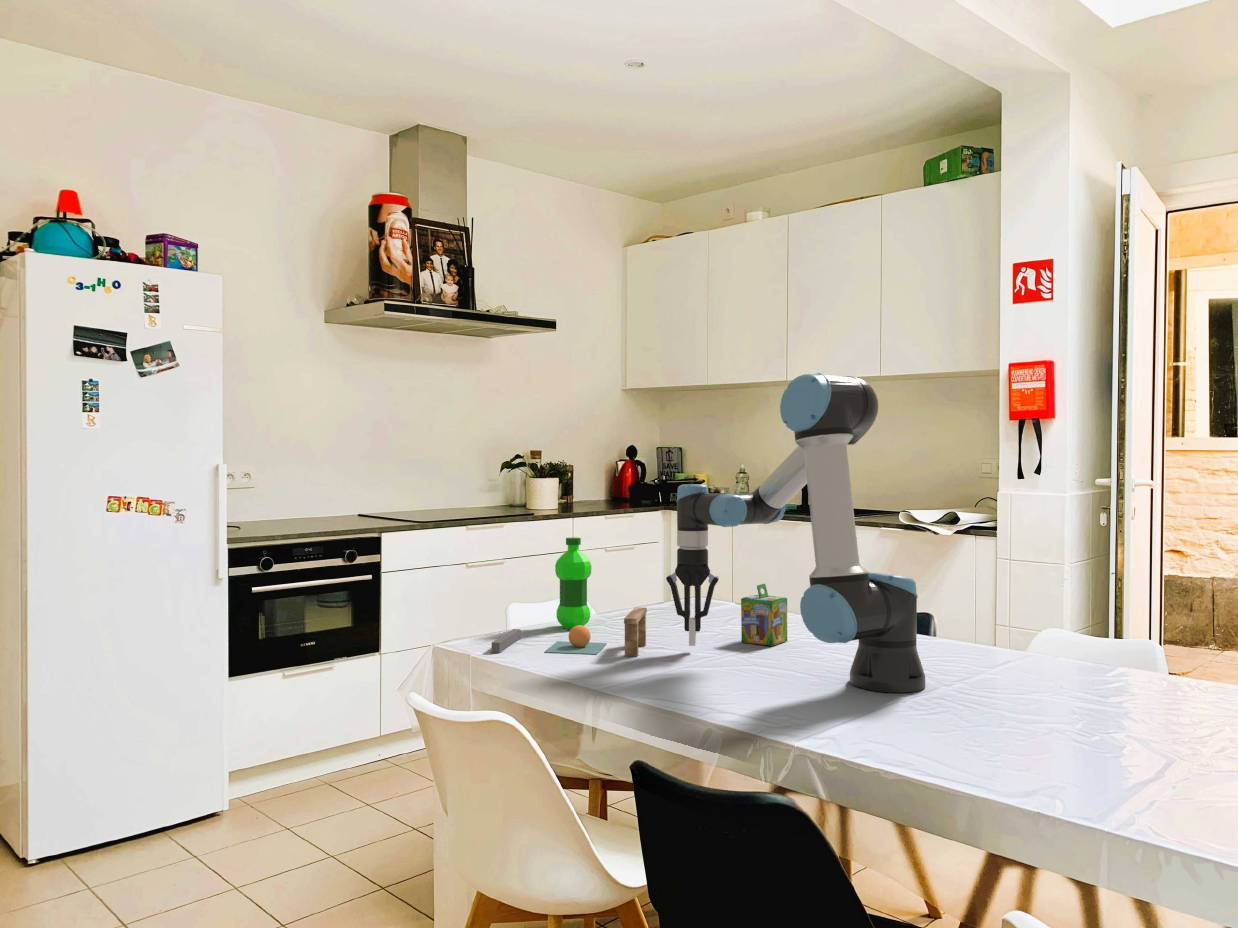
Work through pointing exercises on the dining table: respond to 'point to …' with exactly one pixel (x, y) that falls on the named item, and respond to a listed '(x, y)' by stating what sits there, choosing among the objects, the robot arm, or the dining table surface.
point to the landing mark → (575, 648)
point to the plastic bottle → (573, 585)
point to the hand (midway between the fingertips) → (692, 644)
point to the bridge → (635, 631)
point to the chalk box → (763, 618)
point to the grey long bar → (506, 640)
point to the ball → (579, 636)
